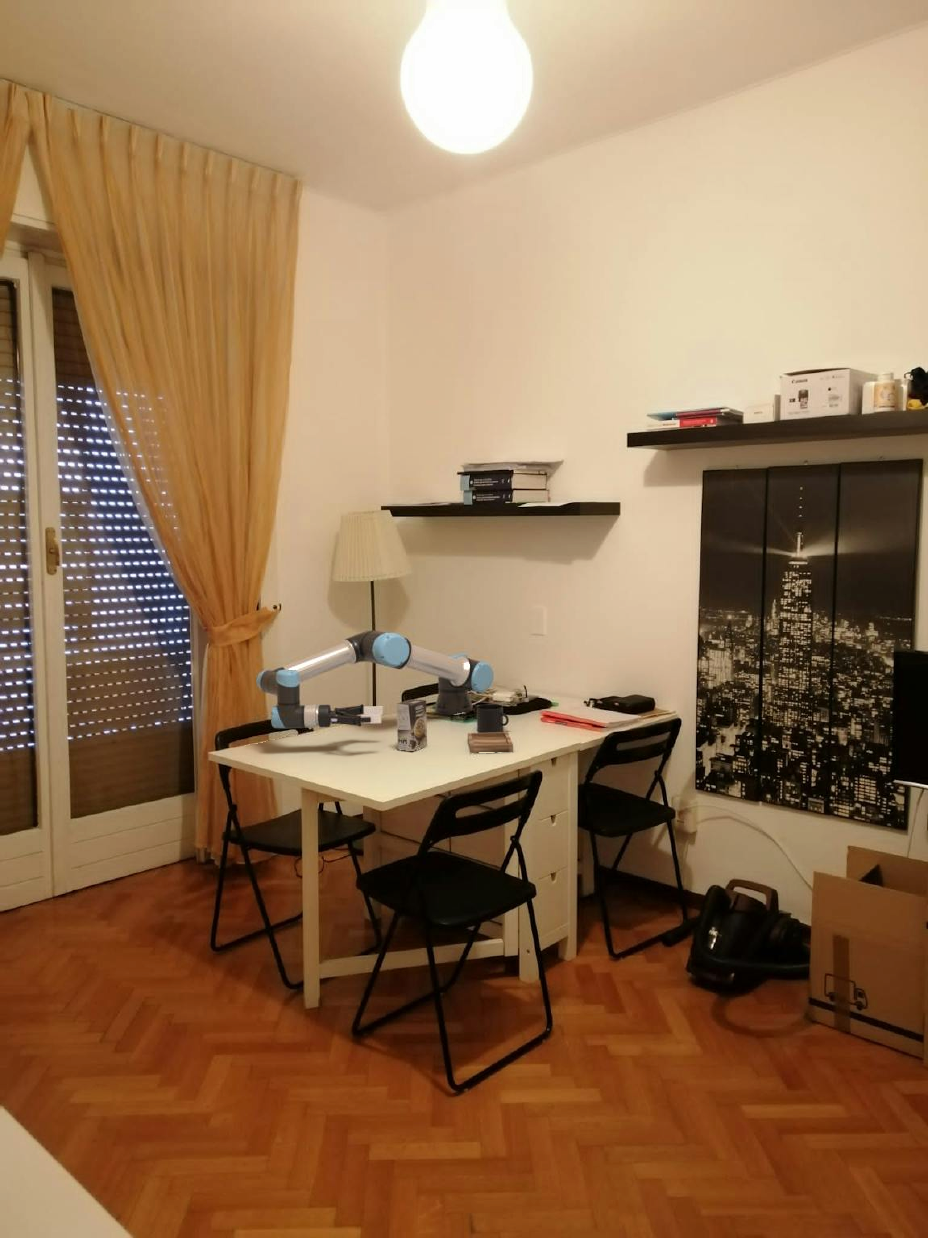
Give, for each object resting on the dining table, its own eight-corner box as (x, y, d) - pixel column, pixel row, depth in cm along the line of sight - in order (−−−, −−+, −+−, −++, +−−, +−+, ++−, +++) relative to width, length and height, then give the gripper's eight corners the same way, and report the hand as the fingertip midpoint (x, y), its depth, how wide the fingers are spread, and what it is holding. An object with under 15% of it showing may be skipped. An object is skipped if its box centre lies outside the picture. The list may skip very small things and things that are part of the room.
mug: (503, 736, 321) (502, 710, 320) (472, 733, 326) (472, 708, 325) (513, 730, 329) (513, 705, 328) (484, 727, 335) (483, 703, 334)
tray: (467, 740, 315) (467, 733, 315) (507, 739, 316) (507, 731, 316) (470, 754, 297) (470, 746, 297) (513, 752, 298) (513, 744, 298)
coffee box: (413, 752, 301) (411, 705, 299) (397, 750, 304) (395, 703, 302) (428, 746, 309) (426, 699, 307) (412, 744, 312) (411, 698, 310)
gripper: (322, 719, 316) (383, 717, 317) (314, 735, 291) (380, 734, 293) (322, 697, 315) (383, 696, 316) (313, 713, 291) (380, 711, 292)
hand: (382, 714), depth 304 cm, fingers open, 13 cm apart
